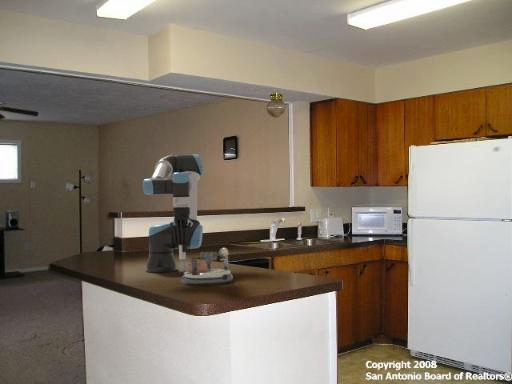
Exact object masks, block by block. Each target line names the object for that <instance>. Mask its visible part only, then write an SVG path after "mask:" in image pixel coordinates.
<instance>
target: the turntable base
mask: <svg viewBox="0 0 512 384" xmlns="http://www.w3.org/2000/svg"><path fill="white" fill-rule="evenodd" d="M233 280H234V275H233V274H232V273H230V277H228V278H225V277H224V278H218V279H188V278H185V277H184V275H183V276H181V283H182V284H184V285H189V286H217V285H223V284H229V283H231V282H233Z"/></svg>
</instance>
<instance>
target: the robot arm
mask: <svg viewBox="0 0 512 384" xmlns="http://www.w3.org/2000/svg"><path fill="white" fill-rule="evenodd" d="M202 176H204V169H203V164H202V158H201V155H199V154H198V153H195V154H193V153H190V154H169V155H166V156H164V157H162V158H160V159H158V161H157V162H156V163H155V165H154V172H153V173H152V176H151V178H144V180H143V181H142V191H143V194H144V195H147V196H149V195H150V196H157V195H160V196H161V195H162V196H163V195H172V206H173V208H172V215H173V216H174V218H173V221H171V222H169V223H167V222H166V223H163V224H157V225H151V226H150V227H149V229H148V248H149V250H148V252H149V255H148V259H147V264H146V266H145V272H148V273H166V272H167V273H169V272H174V271H176V270H177V269H178V268H177V266H178V265H177V264H176V260H175V257H174V250H178V251H177V252H178V254H179V255H178V256H179V257H178V258H179V260H180V261H181V260H183V261H184V260H186V259H187V253H186V252H188V249H189V250H190V249H191V250H192V249H198V248H200V247H201V246H202V241H203V230H204V228H203V227H204V226H203V225H202V224H201V222H200V221H199V220H198V181H200V179H201V177H202ZM170 177H172V178H170Z"/></svg>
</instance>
